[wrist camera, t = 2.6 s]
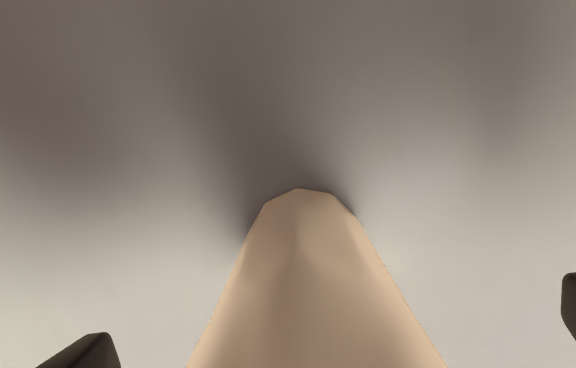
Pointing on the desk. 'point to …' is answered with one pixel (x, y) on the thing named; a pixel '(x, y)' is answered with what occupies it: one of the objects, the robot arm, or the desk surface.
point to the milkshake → (311, 297)
